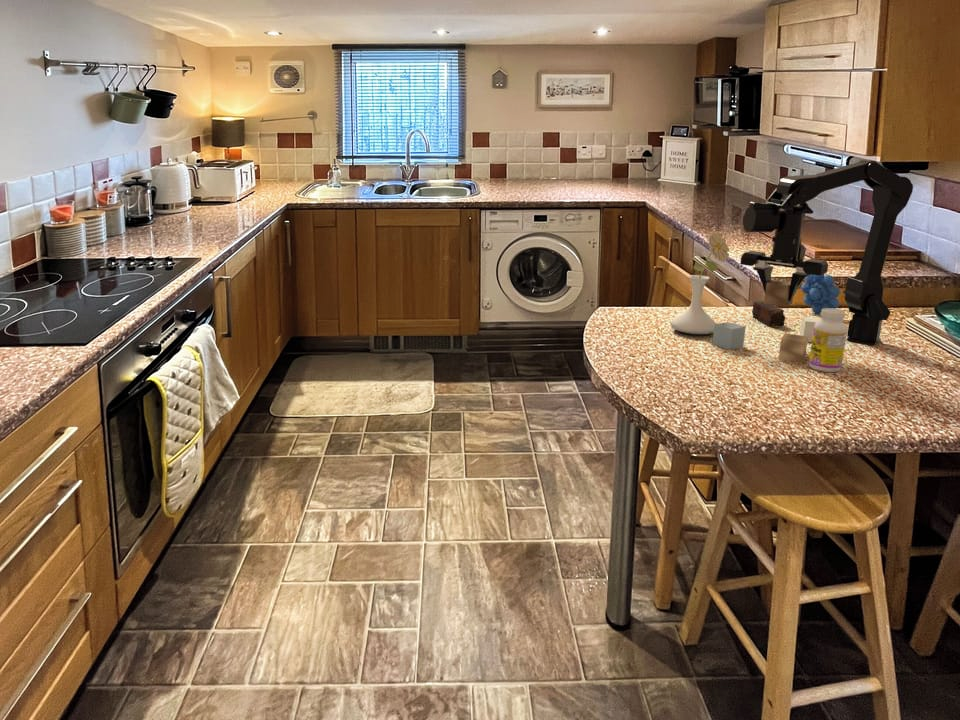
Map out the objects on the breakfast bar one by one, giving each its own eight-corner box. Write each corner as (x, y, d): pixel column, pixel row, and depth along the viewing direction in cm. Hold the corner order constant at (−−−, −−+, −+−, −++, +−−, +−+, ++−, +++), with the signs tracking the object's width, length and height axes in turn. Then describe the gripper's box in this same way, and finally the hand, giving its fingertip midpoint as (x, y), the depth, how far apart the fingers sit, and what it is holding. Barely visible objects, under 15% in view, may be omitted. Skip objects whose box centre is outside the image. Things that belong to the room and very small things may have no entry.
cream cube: (821, 338, 216) (824, 318, 215) (824, 343, 211) (827, 323, 210) (799, 336, 217) (802, 316, 216) (802, 341, 212) (805, 321, 211)
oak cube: (805, 358, 198) (808, 336, 196) (801, 363, 194) (805, 341, 192) (782, 354, 200) (784, 333, 199) (778, 359, 196) (781, 338, 194)
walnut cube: (792, 303, 208) (795, 282, 206) (785, 307, 204) (788, 285, 202) (771, 300, 210) (774, 279, 209) (763, 303, 207) (766, 282, 205)
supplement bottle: (803, 363, 193) (812, 306, 190) (834, 364, 193) (843, 307, 189) (814, 372, 187) (822, 313, 183) (845, 373, 187) (855, 314, 183)
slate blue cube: (743, 347, 205) (745, 326, 204) (729, 350, 202) (732, 329, 201) (725, 342, 209) (727, 321, 207) (712, 345, 206) (714, 324, 204)
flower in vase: (688, 339, 209) (699, 234, 202) (660, 328, 219) (670, 227, 212) (732, 335, 215) (744, 233, 208) (702, 324, 225) (713, 226, 217)
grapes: (789, 311, 243) (795, 268, 240) (803, 308, 247) (809, 266, 244) (827, 320, 235) (834, 276, 231) (841, 317, 239) (848, 273, 235)
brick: (750, 318, 234) (752, 301, 233) (764, 318, 235) (766, 301, 234) (769, 328, 224) (772, 310, 223) (784, 328, 225) (786, 310, 224)
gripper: (839, 234, 203) (829, 300, 208) (760, 225, 214) (752, 288, 218) (825, 238, 195) (814, 307, 199) (743, 229, 205) (735, 294, 210)
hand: (778, 299), depth 207 cm, fingers closed on walnut cube, 5 cm apart
